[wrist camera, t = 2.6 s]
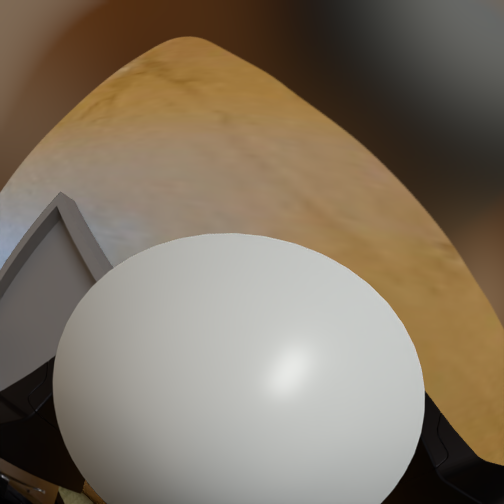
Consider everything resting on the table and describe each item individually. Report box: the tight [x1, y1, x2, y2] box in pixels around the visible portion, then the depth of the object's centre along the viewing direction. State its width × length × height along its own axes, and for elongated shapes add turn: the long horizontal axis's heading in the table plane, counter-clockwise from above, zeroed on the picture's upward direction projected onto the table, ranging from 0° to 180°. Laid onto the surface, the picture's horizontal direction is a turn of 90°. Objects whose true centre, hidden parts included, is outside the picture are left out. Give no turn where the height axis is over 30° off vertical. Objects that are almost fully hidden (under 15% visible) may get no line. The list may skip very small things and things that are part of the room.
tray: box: [0, 192, 113, 391], centre depth 15 cm, size 20×14×2 cm
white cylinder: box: [53, 233, 425, 504], centre depth 9 cm, size 6×6×13 cm
